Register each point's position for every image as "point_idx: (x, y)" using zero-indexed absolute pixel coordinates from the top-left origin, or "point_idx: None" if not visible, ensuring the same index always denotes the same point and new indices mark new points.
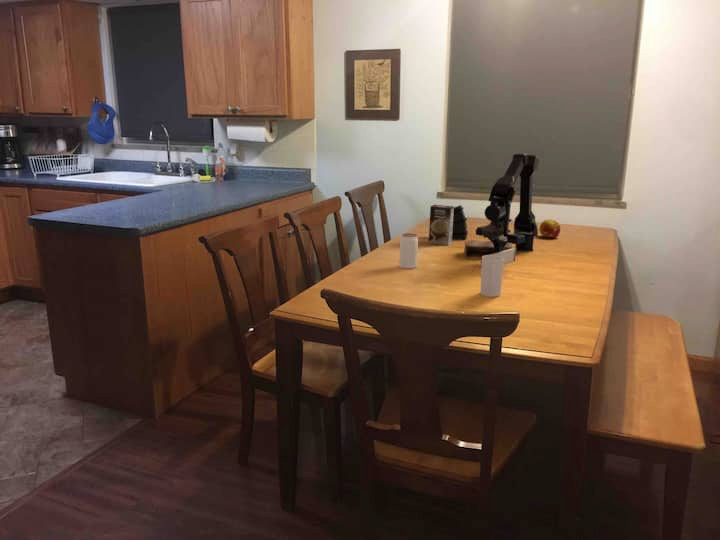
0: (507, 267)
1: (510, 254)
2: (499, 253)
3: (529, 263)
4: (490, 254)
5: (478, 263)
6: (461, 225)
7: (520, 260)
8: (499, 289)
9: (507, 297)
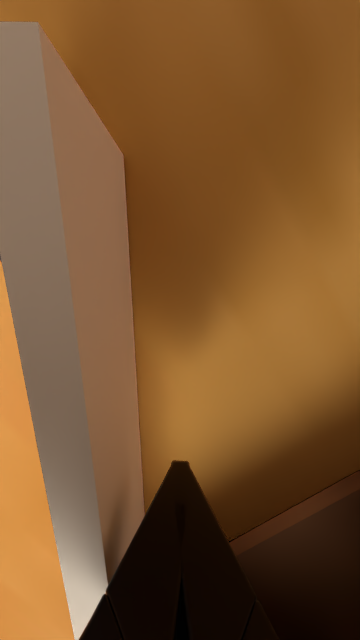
0: (7, 366)
1: None
2: (48, 460)
3: (3, 596)
4: (44, 114)
5: (338, 265)
6: None
7: None
8: None
9: None
